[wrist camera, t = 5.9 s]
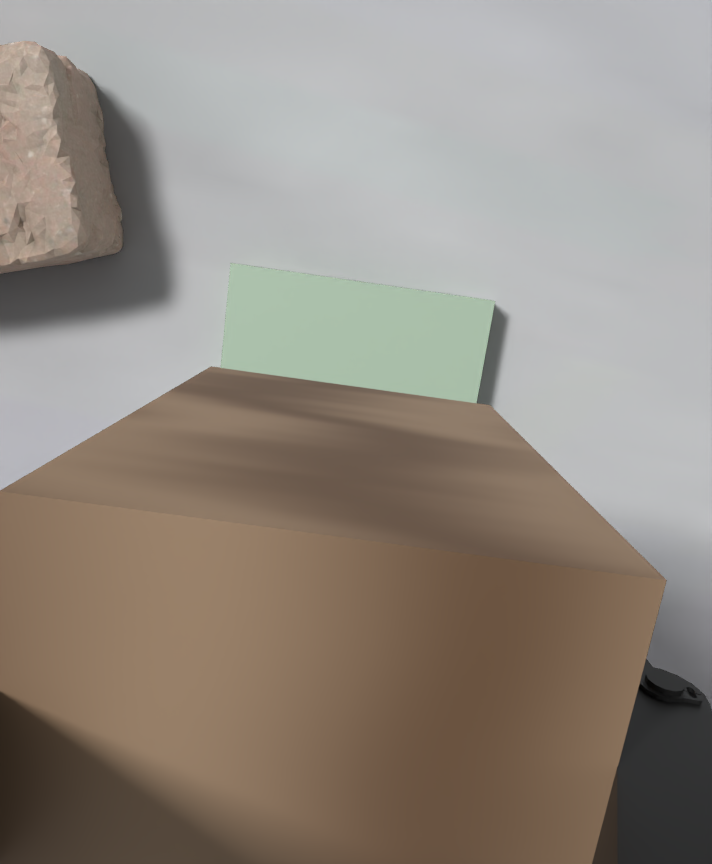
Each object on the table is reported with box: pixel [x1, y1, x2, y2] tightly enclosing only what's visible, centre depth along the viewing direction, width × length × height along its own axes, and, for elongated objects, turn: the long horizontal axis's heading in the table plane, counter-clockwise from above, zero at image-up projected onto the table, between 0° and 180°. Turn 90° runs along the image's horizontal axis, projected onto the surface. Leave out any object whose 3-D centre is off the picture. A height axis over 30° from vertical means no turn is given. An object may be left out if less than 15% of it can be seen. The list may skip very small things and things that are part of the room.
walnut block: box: [0, 367, 667, 864], centre depth 13 cm, size 7×7×10 cm
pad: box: [221, 263, 495, 403], centre depth 32 cm, size 12×12×1 cm
